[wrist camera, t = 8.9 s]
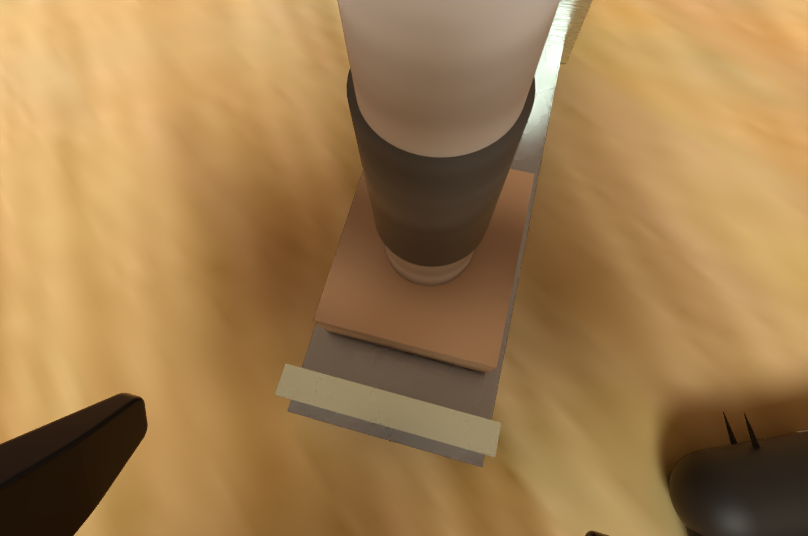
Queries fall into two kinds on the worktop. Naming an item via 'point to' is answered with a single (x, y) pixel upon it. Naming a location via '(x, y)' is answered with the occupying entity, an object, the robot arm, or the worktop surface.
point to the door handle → (744, 487)
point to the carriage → (435, 173)
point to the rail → (415, 375)
